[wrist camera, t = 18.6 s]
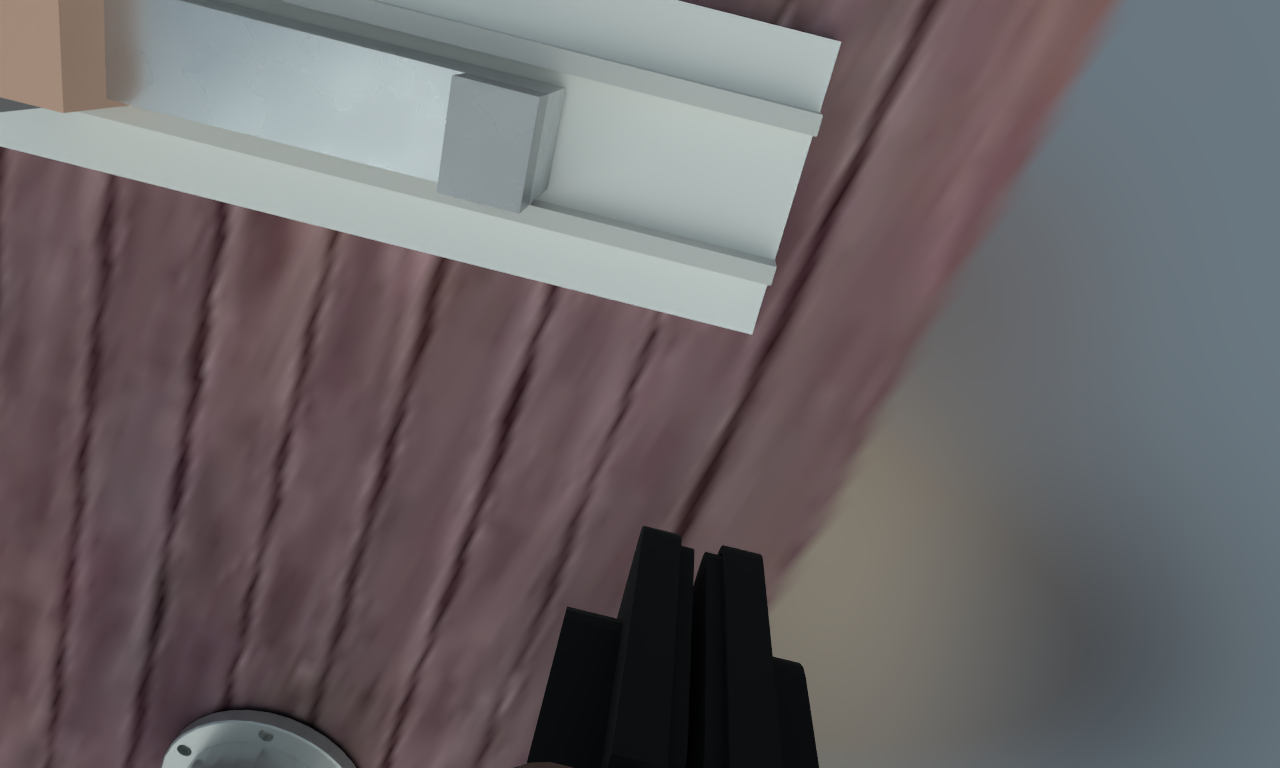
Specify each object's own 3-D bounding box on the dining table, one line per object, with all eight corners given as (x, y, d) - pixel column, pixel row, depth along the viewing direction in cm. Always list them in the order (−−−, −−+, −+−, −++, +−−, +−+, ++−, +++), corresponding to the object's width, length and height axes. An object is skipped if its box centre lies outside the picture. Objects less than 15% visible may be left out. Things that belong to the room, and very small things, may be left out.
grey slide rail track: (751, 325, 37) (755, 368, 32) (3, 138, 37) (-103, 153, 32) (837, 41, 32) (857, 42, 28) (-20, -177, 32) (-149, -214, 27)
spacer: (168, 100, 34) (63, 113, 29) (69, 75, 34) (-56, 83, 29) (169, -10, 33) (57, -19, 27) (64, -36, 33) (-69, -51, 27)
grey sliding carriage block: (547, 188, 34) (519, 213, 29) (166, 92, 34) (75, 102, 29) (565, 88, 33) (539, 97, 28) (166, -14, 32) (70, -22, 28)
